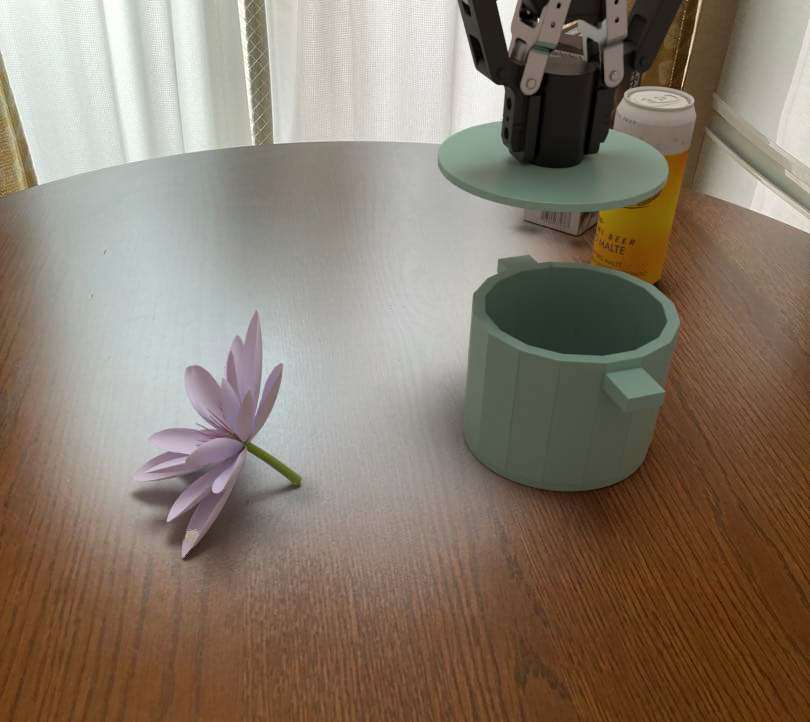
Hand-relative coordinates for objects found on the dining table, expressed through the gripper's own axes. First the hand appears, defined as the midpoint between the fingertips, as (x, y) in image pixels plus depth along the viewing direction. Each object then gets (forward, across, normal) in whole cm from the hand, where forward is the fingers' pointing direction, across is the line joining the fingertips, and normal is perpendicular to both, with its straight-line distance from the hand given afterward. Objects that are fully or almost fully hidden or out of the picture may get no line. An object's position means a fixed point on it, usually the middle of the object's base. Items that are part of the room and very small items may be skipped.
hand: (553, 152), depth 54 cm
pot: (+17, 0, -4) cm, 18 cm away
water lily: (+18, -23, -3) cm, 29 cm away
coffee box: (+18, +19, +28) cm, 38 cm away
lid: (+1, 0, 0) cm, 1 cm away
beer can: (+18, +16, +14) cm, 28 cm away
